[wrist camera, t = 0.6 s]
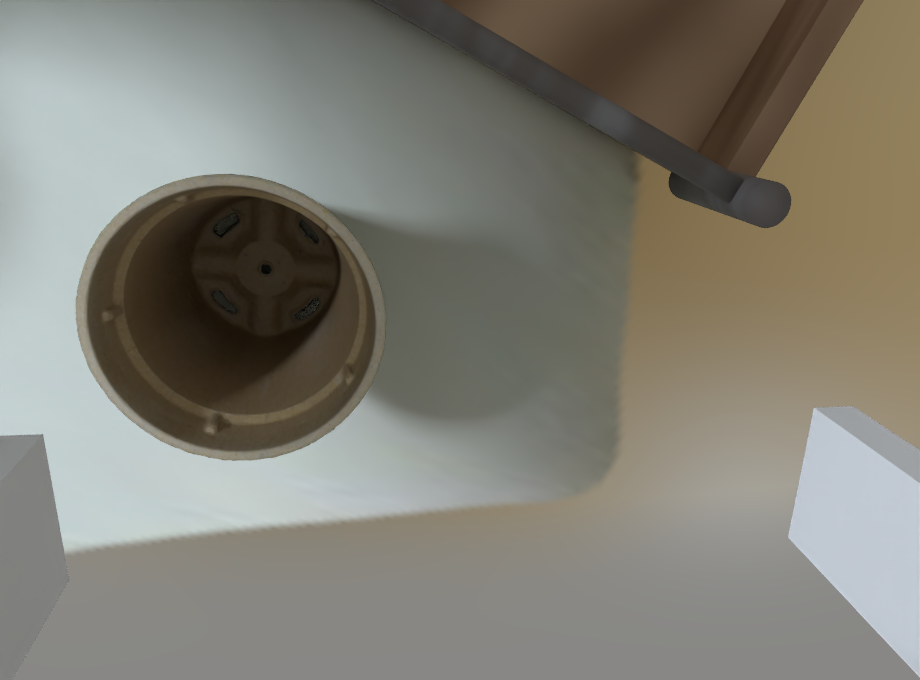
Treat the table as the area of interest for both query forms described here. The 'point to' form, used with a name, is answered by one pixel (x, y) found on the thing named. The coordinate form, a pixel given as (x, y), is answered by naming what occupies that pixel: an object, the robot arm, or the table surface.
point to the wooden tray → (661, 77)
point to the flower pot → (230, 317)
